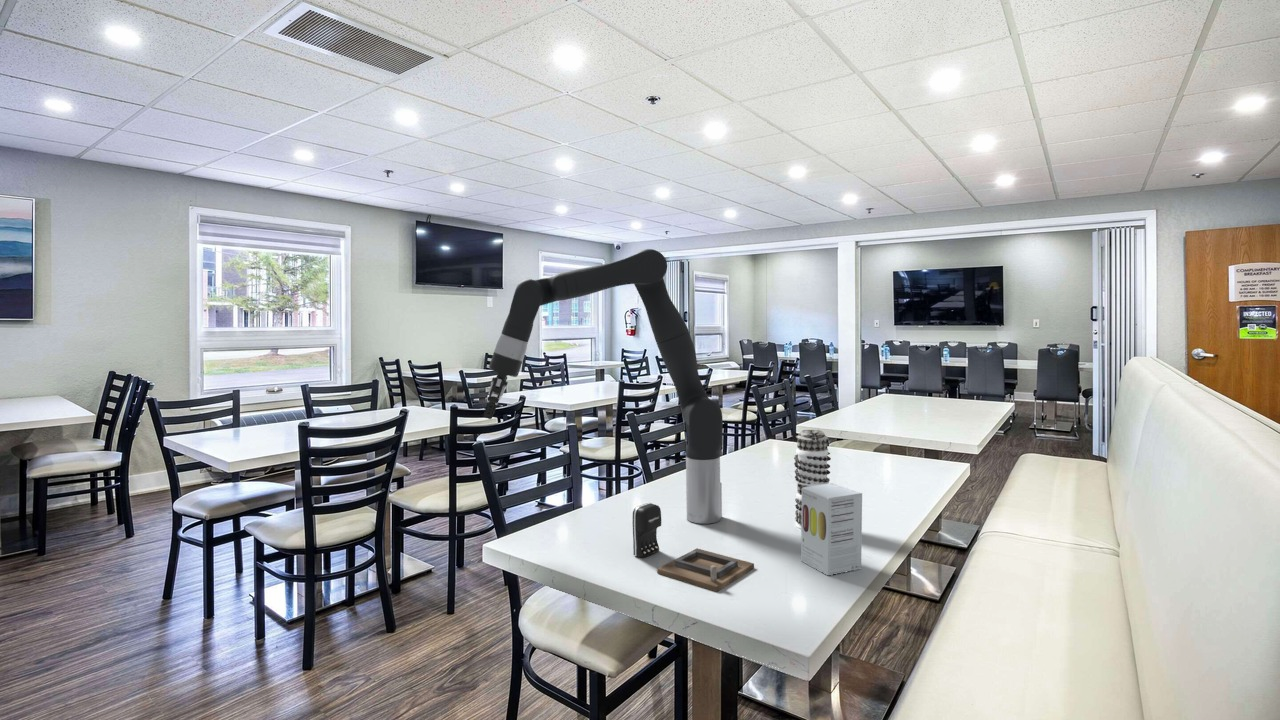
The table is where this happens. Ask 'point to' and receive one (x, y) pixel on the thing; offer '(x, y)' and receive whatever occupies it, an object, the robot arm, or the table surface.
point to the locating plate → (706, 569)
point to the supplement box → (831, 528)
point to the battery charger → (646, 529)
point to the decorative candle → (810, 464)
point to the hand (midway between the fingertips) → (488, 415)
